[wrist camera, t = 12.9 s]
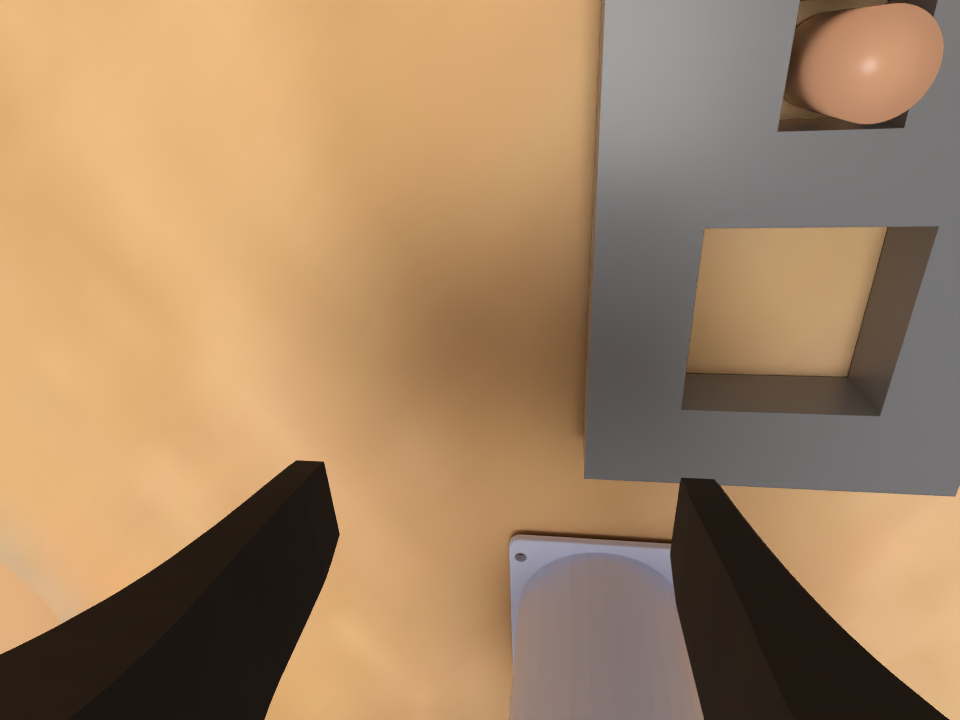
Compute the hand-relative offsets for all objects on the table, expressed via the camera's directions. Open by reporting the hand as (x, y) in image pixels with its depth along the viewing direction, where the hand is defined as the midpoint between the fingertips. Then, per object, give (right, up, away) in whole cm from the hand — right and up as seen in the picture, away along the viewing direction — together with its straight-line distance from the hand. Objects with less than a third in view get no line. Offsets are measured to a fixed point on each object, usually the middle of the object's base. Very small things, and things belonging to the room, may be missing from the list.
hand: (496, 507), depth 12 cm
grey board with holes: (+9, +7, +7) cm, 13 cm away
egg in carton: (+9, +11, +4) cm, 15 cm away
